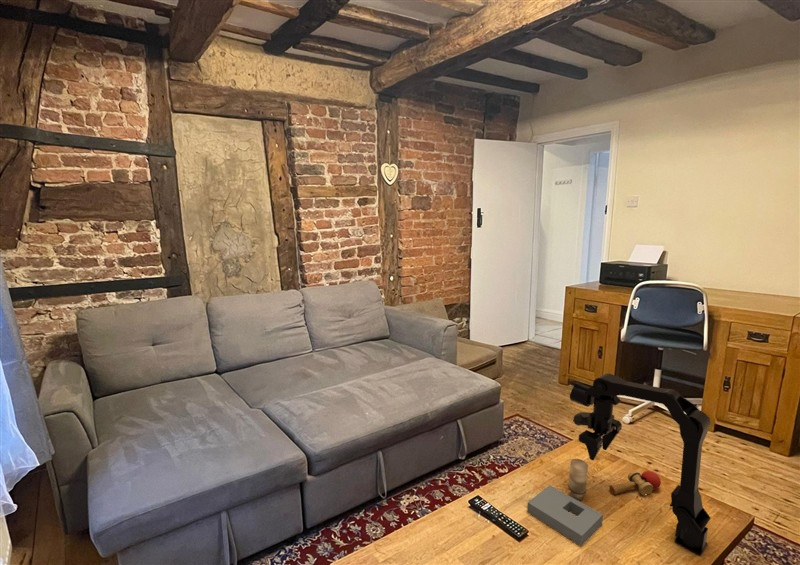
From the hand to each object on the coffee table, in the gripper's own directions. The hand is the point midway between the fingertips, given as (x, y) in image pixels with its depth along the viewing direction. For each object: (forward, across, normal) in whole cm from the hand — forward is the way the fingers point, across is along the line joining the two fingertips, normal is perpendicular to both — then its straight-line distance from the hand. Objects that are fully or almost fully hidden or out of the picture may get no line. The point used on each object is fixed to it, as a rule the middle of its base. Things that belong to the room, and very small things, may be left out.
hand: (598, 454), depth 140 cm
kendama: (+15, -12, +8) cm, 21 cm away
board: (+15, +19, -1) cm, 24 cm away
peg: (+15, +7, -3) cm, 16 cm away
